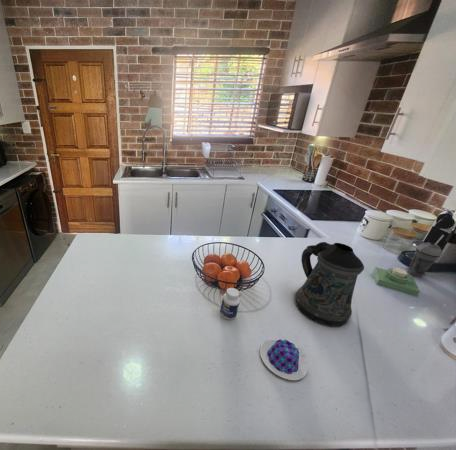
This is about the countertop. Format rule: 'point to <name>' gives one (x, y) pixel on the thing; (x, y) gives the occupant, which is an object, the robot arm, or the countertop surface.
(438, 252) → the beverage cup
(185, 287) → the countertop surface
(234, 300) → the pill bottle
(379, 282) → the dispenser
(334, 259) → the beer stein
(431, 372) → the countertop surface
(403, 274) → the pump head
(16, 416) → the countertop surface
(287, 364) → the pudding
